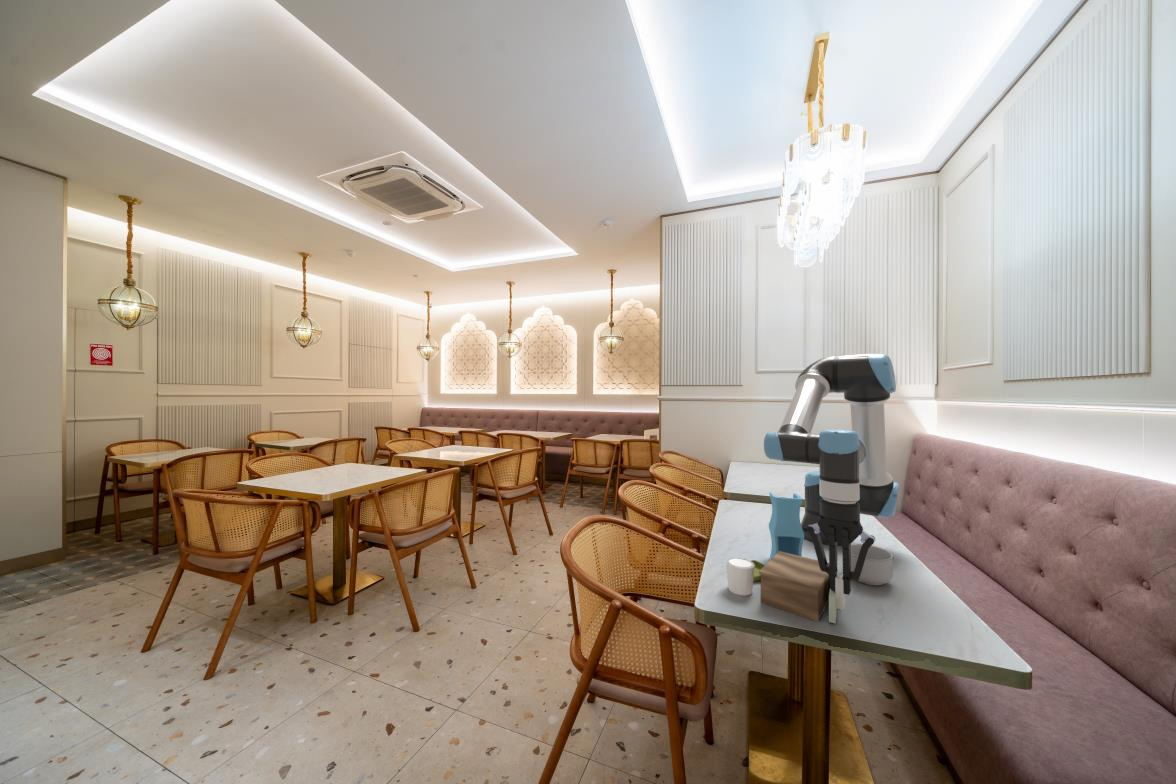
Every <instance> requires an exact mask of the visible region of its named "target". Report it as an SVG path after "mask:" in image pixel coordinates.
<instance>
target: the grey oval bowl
mask: <svg viewBox="0 0 1176 784" xmlns="http://www.w3.org/2000/svg"><path fill="white" fill-rule="evenodd" d="M862 544H863V543H860V544H859V543H854V541H853V542H852V543H851V571H854V569H855V566H856V563H857V559H858V556H859V553H860V549H861V547H862ZM893 575H894V554H893V553H892V552H890V550H887V549H886V548H882V547H879V546H875V545H871V546H870V548H869V549H868V552H867V556H866V559H865V562H864V566H863V569H862V572H861V575H860V578H859V579H858V580H857V581H858V582H860V583H863V584H865V585H870V586H882V585H884V584H886V583H888V582H890V581H891V580H892V579H893Z"/></svg>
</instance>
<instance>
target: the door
mask: <svg viewBox="0 0 1176 784" xmlns="http://www.w3.org/2000/svg"><path fill="white" fill-rule="evenodd" d="M837 574H839V575H840V572H839V571H838V572H837ZM837 612H838V609H837V598H836V594H835V591H832V590H831V589H830V592H829V601H828V622H829V623H832V624H837V622H836V620H837V615H838V613H837Z"/></svg>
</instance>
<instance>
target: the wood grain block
mask: <svg viewBox="0 0 1176 784" xmlns="http://www.w3.org/2000/svg"><path fill="white" fill-rule="evenodd" d="M827 563H828V565H829V562H827ZM764 565H765V566H764V567H763V568H762V569H761V570H760V571H759V574H761V580H760V604H765V605H767V606H770V607H773V608H776V609H779V610H782V611H784V612H788V613H790V614H794V615H797V616H800V617H803V618H806V619H808V620H809V619H810V620H812V621H815V622H819V620H820V618H821V617H822V615H823V612H824V610H825V609H826V607H827V605H828V604H829V592H830V576H829V574H828V573H826V572H823V571H821V570H820V566H819V563H818V559H813V558H809V557H805V556H803V555H802V556H798V555H793V554H789V553H785V552H781V551H779V552H778V553H777V554H776V555H775V556H774V557H773V558H772V559H770V560H769V561H767V563H766V564H764Z"/></svg>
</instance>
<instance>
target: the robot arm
mask: <svg viewBox="0 0 1176 784" xmlns="http://www.w3.org/2000/svg"><path fill="white" fill-rule="evenodd" d="M794 385H795V386H794V388H795V392H794V394H793V397H792V399H791V401H790V404H789V405H788V409H787V411H786V413H785V414H784V415H785V416H784V418H783V420H782V423H781V425H780V427H779V430H778V431H776V430H775V431H768V432H766V434H765V436H764V440H763V452H764V455H765V456H766V458H768V459H769V460H776V461H781V462H791V463H803V464H812V465H819V470H816V471H810V472H808V473H806V474H805V475H804V486H803V487H804V515H803V517H802V520H801V521H800V523H801V527H802V530H803V533H804V540H809V541H811V542H812V544H813V547H814V551H815V554H816V555H815V556H816V558H817V559H816V560H818V563H819V566H820V570H821V571H823V572H826V573H828V574H829V576H830V589H831V590H832V591H835V594H836V598H837V610H841V611H844V610H845V607H846V595H848V596H849V595H850V594H851V592H852V580H856V581H858V579H859V578H860V575H861V572H862V569H863V566H864V562H865V559H866V556H867V552H868V549H869V548H870V546H873V545H874V543H875V541H876V536H875V535H870V534H869V533H868V532H866V531H864V527H863V525H862V523H861V515H865V516H872V517H875V518H885V519H886V518H887V519H890V518H892V517H894V516H895V513H896V508H897V501H898V493H899V488H900V483H898V482H896V481H894V478H893V475H891V474H890V473H889V472H888V471H887V451H886V448H887V447H886V443H887V442H886V423H885V420H886V419H885V403H886V402H887V401H888V400H890V398H891V394H892V393H895V392H896V390H897V385H896V375H895V370H894V366H893V361H892V359H891V357H890V356H889V355H887V354H884V353H865V354H862V353H861V354H850V355H840V356H839V355H837V356H836V355H834V356H833V355H832V356H827V357H823V358H821V359H818V360H816V361H815V362H813V363H811V364H810V365H809V366H808V365H807V367H806V368H805V369H803V370H802V372H800V373H799V375H798V376H797V379H796V381H795V384H794ZM830 393H837V394H840V393H841V394H843V398H844V400H845V401H846V402H848V404H849V405H850V422H851V423H850V424H851V430H850V429H836V428H835V429H831V428H830V429H822V430H821V431H820V432H819V433H818V434H817V433H812V431H813V428H814V424H815V422H816V419H817V416H818V413H819V409H820V408H821V404H822V402H823V399H824V398H825V397H826V396H828V394H830ZM859 536H860V542H861V544H862V547H861V549H860V553H859V556H858V559H857V563H856V566H855V569H854V571H851V543H852V542H853V543H854V541H855V540H856V539H857V538H858V537H859ZM823 544H824V545H828V560H827V557H826V553H825V549H824V545H823ZM838 546H841V549H842V574H840V573H839V574H837V572H839V570H838V568H839V567H838ZM828 561H829V562H828ZM828 563H829V565H828Z"/></svg>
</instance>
